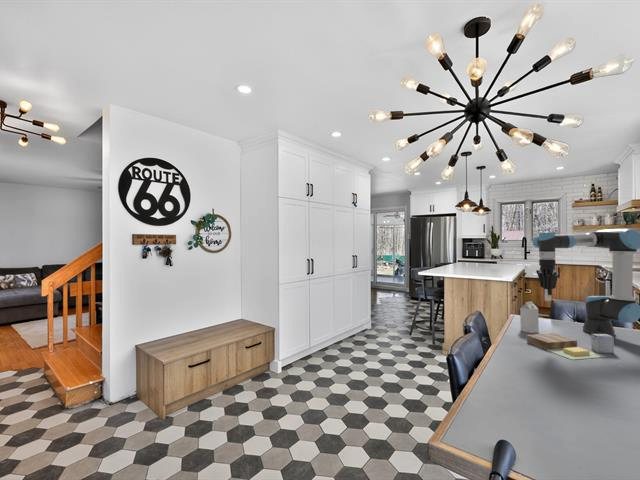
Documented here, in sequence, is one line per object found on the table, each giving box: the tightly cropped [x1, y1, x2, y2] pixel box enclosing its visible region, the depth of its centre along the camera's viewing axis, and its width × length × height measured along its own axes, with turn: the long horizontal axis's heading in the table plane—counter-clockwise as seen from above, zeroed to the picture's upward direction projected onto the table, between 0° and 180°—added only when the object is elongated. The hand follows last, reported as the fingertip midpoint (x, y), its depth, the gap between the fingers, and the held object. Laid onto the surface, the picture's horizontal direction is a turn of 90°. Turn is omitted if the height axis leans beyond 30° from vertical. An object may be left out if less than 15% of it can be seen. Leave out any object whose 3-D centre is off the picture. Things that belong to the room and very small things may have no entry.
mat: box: [546, 349, 607, 361], centre depth 161 cm, size 20×14×1 cm
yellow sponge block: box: [563, 346, 591, 356], centre depth 161 cm, size 9×6×2 cm, turn 99°
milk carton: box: [519, 301, 540, 334], centre depth 201 cm, size 7×7×19 cm
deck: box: [526, 332, 578, 351], centre depth 175 cm, size 18×14×4 cm
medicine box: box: [590, 334, 615, 354], centre depth 164 cm, size 8×4×9 cm, turn 84°
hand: (548, 300), depth 178 cm, fingers closed
